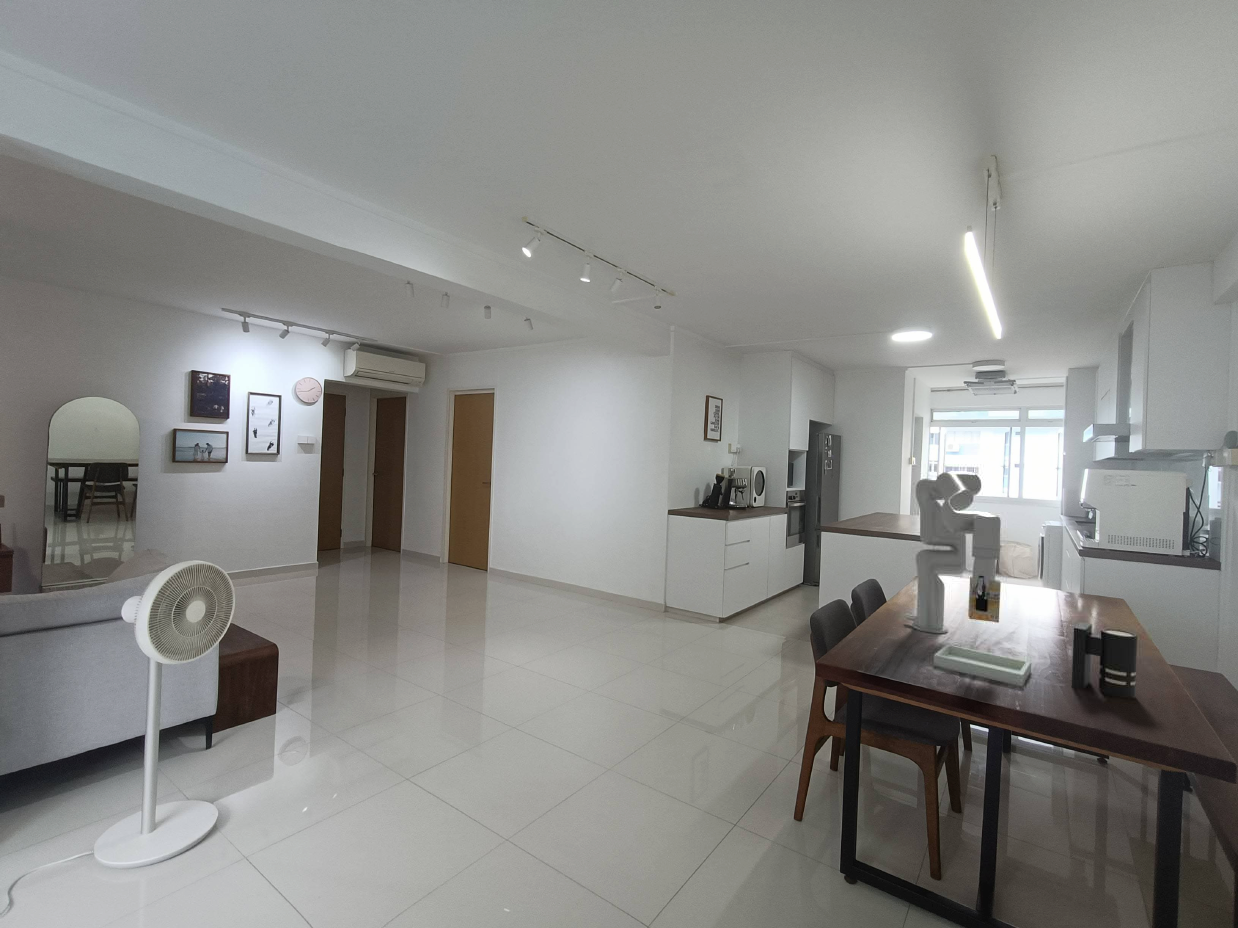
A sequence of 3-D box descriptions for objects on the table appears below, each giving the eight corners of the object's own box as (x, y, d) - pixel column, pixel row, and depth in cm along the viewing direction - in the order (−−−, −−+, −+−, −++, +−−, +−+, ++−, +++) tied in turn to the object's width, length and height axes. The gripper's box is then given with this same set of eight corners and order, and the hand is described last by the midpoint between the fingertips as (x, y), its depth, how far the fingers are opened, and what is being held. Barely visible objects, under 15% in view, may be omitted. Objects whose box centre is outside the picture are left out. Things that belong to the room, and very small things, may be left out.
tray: (933, 665, 191) (934, 654, 191) (946, 654, 203) (947, 643, 203) (1022, 686, 175) (1022, 674, 175) (1030, 672, 186) (1031, 661, 186)
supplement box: (969, 619, 188) (970, 578, 188) (968, 615, 193) (969, 576, 192) (999, 623, 184) (1001, 581, 184) (997, 619, 189) (999, 579, 189)
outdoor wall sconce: (1132, 702, 165) (1134, 639, 165) (1071, 687, 175) (1073, 627, 175) (1137, 693, 172) (1139, 632, 171) (1078, 679, 182) (1080, 621, 182)
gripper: (978, 548, 197) (976, 602, 197) (965, 554, 184) (964, 611, 185) (1004, 551, 192) (1002, 606, 192) (993, 557, 179) (991, 616, 180)
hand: (983, 608), depth 188 cm, fingers closed on supplement box, 5 cm apart
